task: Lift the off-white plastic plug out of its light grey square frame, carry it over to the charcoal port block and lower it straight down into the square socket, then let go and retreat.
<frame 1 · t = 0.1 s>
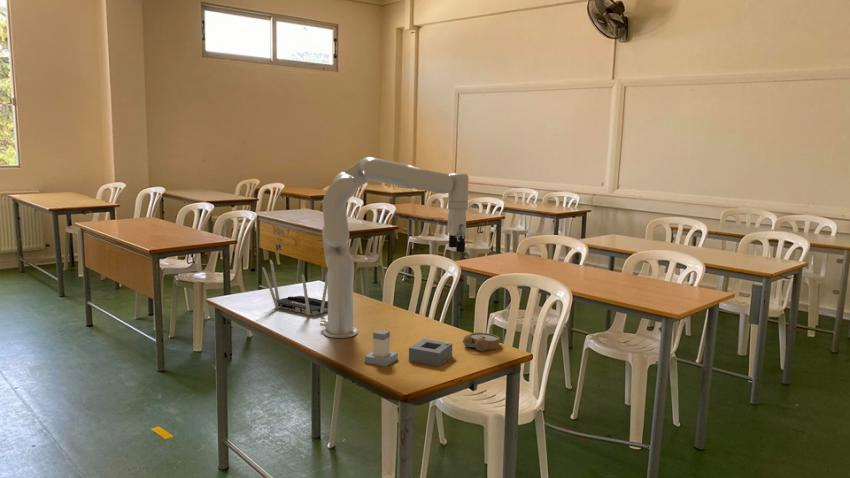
hand: (456, 249, 244), 31 cm above the table, tool pointing down, fingers open, 9 cm apart
wireless router: (302, 310, 269), on the table
port: (430, 358, 213), on the table
light grey square frame: (381, 360, 210), on the table
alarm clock: (480, 347, 226), on the table
plug: (381, 346, 209), in the light grey square frame
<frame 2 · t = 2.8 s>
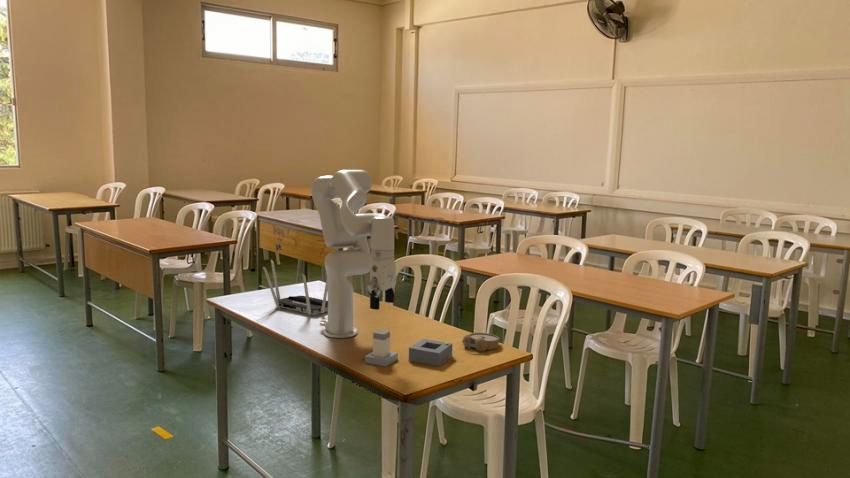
hand: (382, 305, 207), 19 cm above the table, tool pointing down, fingers open, 9 cm apart
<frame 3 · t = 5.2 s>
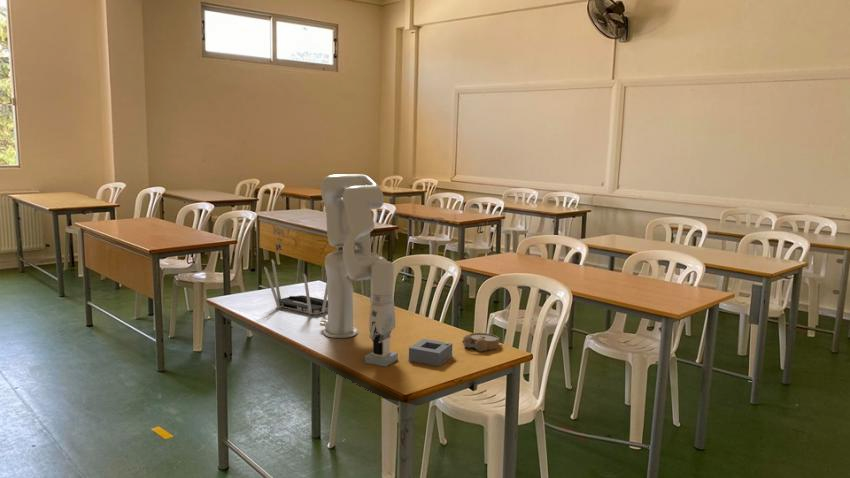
hand: (381, 351, 209), 3 cm above the table, tool pointing down, fingers closed on plug, 4 cm apart
plug: (381, 346, 209), in the light grey square frame, touching gripper
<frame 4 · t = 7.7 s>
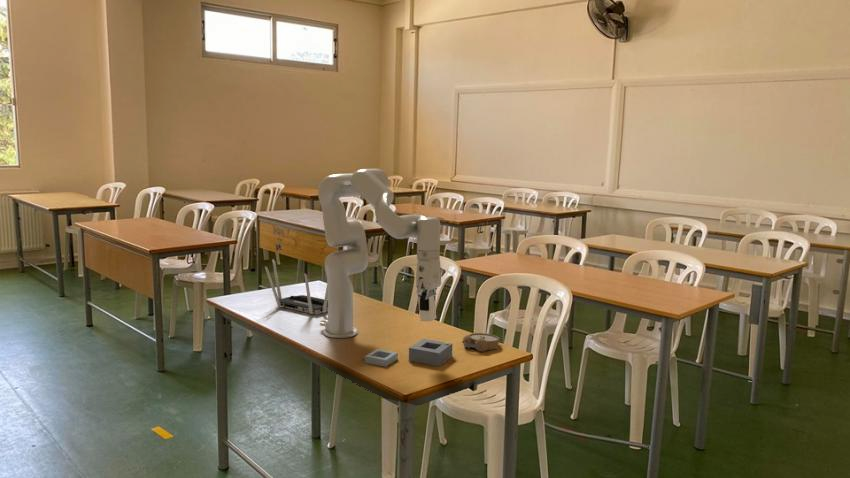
hand: (427, 308, 210), 18 cm above the table, tool pointing down, fingers closed on plug, 4 cm apart
plug: (426, 305, 210), point 19 cm above the table, tilted 8°, touching gripper
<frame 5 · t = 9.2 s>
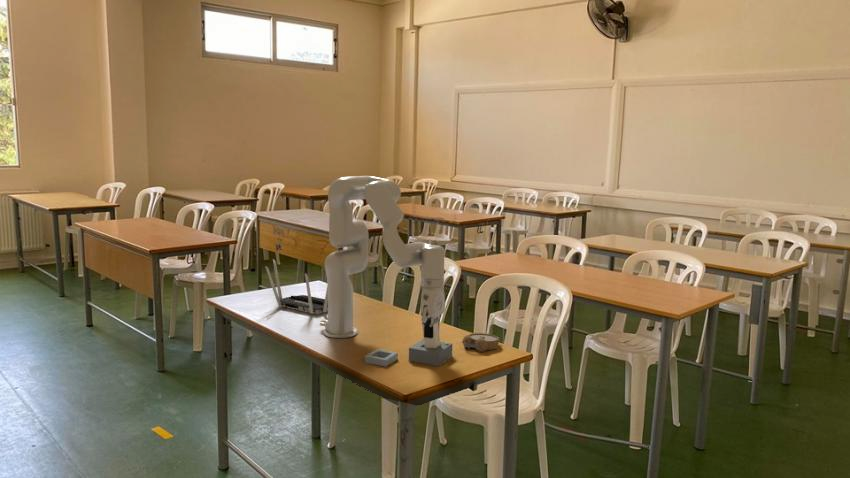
hand: (431, 335, 212), 8 cm above the table, tool pointing down, fingers closed on plug, 4 cm apart
plug: (431, 332, 212), point 9 cm above the table, tilted 8°, touching gripper
when the fingers open (5 cm above the table, at t = 10.4 s): plug stays where it is, resting on port.
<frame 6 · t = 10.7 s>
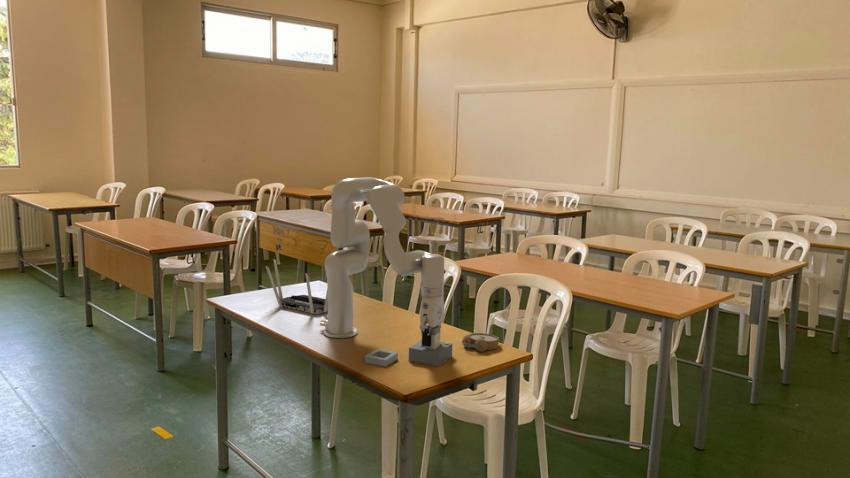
hand: (431, 342, 212), 6 cm above the table, tool pointing down, fingers open, 6 cm apart
plug: (432, 341, 212), in the port, point 6 cm above the table
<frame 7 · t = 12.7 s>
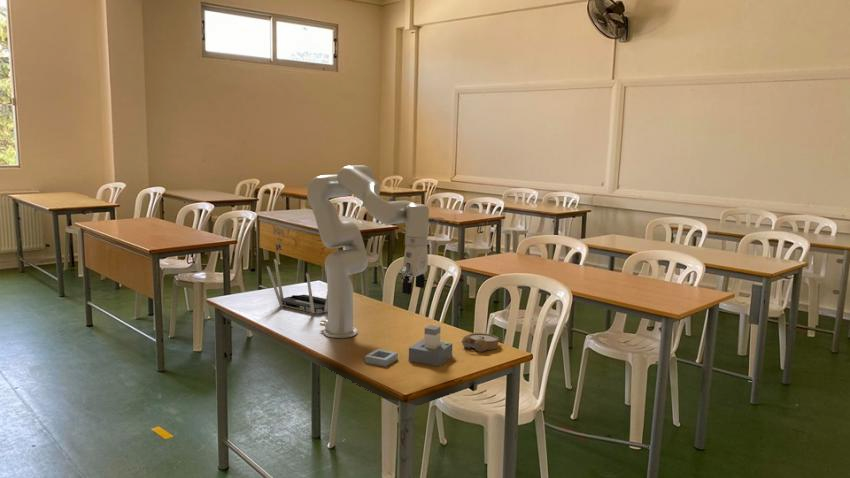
hand: (413, 290, 213), 23 cm above the table, tool pointing down, fingers open, 9 cm apart
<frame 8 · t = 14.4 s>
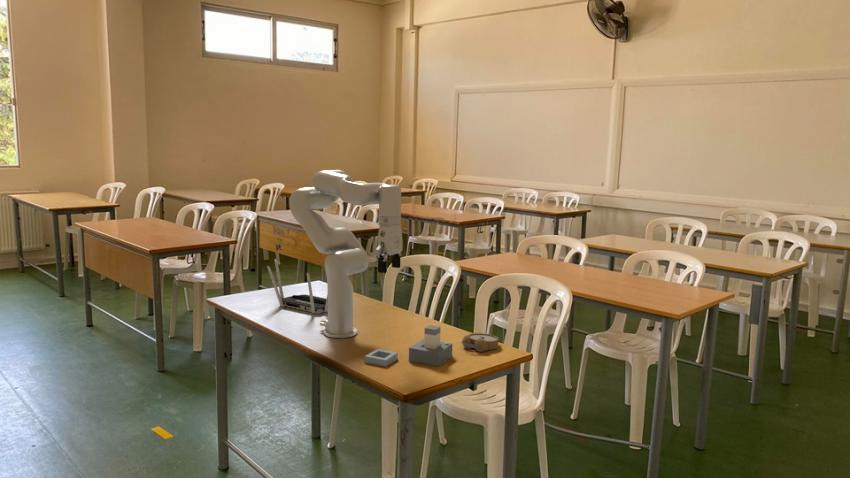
hand: (389, 269, 218), 28 cm above the table, tool pointing down, fingers open, 9 cm apart
at the end: plug 0.4 cm off-centre on the port, point 6.0 cm above the port's base; plug tilted 0°; the gripper is holding nothing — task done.
